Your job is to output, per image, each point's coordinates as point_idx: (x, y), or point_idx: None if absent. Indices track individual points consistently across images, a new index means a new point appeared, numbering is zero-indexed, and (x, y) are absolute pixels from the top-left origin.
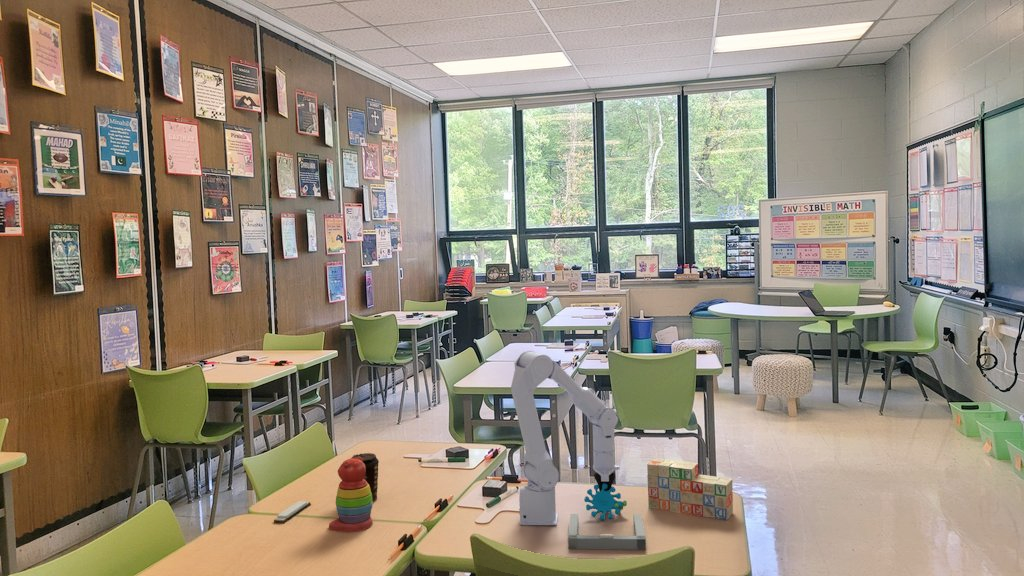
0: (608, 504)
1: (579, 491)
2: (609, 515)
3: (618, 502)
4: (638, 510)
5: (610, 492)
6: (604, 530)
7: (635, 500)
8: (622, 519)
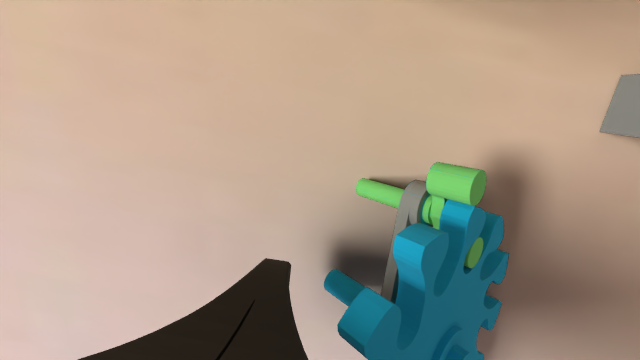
0: (465, 311)
1: (28, 328)
2: (500, 278)
3: (467, 241)
4: (343, 48)
5: (285, 288)
6: (636, 314)
7: (143, 34)
8: (490, 187)
